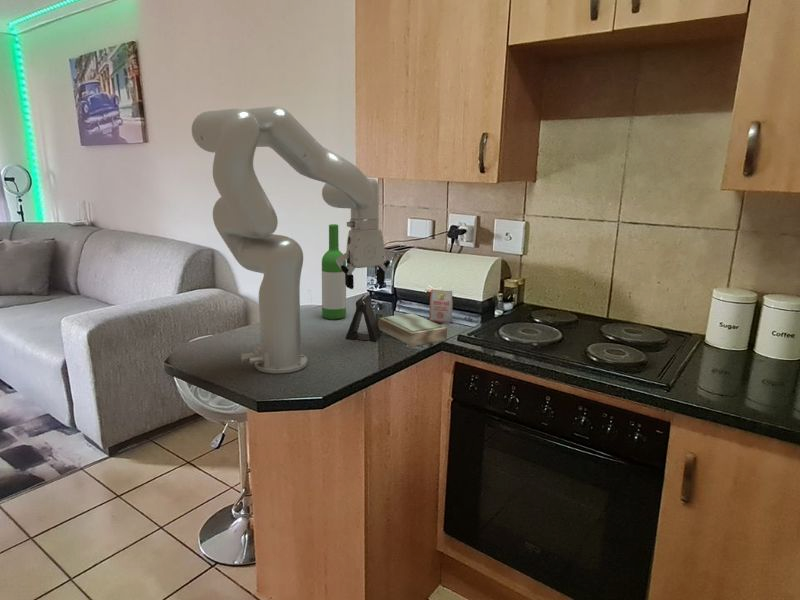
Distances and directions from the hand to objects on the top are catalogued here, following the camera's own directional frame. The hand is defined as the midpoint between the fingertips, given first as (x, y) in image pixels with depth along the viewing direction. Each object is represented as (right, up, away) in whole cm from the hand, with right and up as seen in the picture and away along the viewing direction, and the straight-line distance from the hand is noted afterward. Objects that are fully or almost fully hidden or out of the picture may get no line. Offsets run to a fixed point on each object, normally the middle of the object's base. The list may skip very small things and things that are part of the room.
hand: (365, 286), depth 149 cm
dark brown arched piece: (-1, -15, +3) cm, 15 cm away
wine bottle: (-12, -10, +24) cm, 28 cm away
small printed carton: (+23, -11, +23) cm, 34 cm away
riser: (+13, -14, +7) cm, 21 cm away
